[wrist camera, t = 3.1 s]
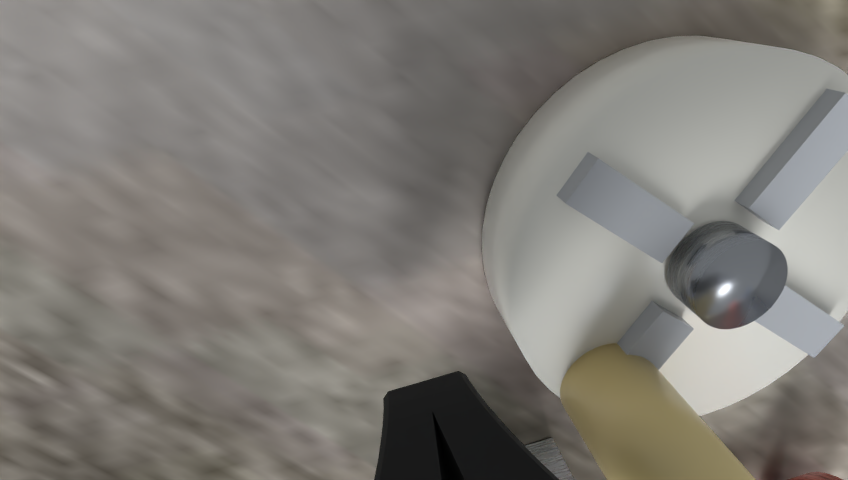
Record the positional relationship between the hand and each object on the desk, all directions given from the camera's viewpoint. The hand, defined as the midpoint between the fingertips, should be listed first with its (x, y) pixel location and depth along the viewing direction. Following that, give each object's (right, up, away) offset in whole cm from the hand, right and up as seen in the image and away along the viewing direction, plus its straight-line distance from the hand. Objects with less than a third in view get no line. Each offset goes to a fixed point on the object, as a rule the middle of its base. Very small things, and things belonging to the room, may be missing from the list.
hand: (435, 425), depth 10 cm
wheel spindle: (+5, +3, +1) cm, 6 cm away
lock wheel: (+5, +4, +3) cm, 7 cm away
